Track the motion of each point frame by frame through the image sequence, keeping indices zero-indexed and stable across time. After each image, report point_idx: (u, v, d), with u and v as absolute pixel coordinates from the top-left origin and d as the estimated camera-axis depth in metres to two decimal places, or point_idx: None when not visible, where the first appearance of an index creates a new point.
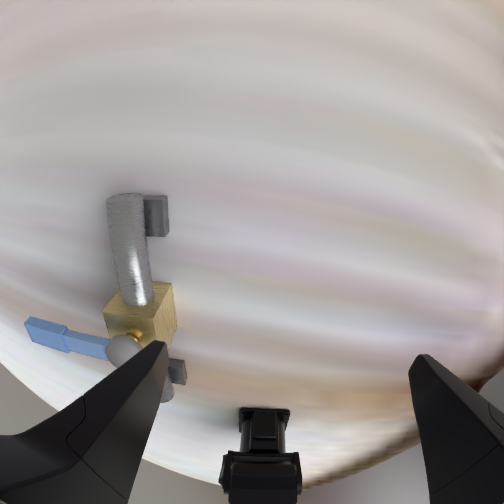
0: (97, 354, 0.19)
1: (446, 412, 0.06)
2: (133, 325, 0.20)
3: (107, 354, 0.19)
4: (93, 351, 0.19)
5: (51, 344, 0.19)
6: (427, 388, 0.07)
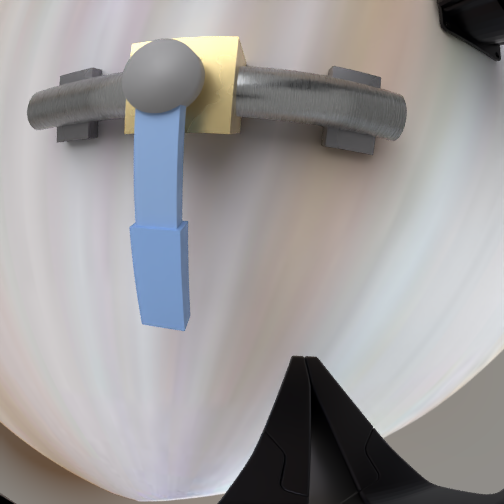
0: (164, 141, 0.09)
1: (317, 430, 0.06)
2: None
3: (151, 108, 0.09)
4: (160, 151, 0.10)
5: (169, 273, 0.11)
6: None
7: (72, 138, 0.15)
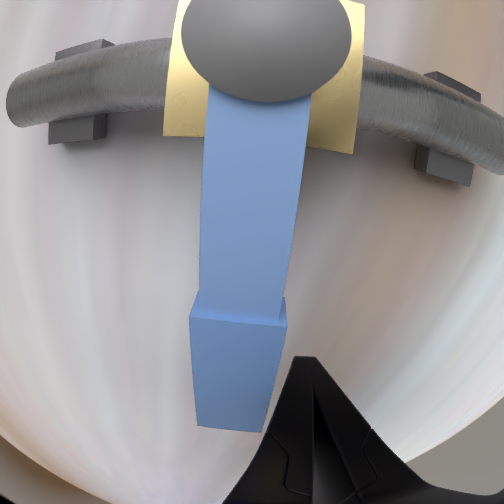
0: (273, 162, 0.05)
1: (315, 430, 0.06)
2: None
3: (251, 89, 0.04)
4: (263, 183, 0.05)
5: (255, 378, 0.07)
6: None
7: (70, 139, 0.10)
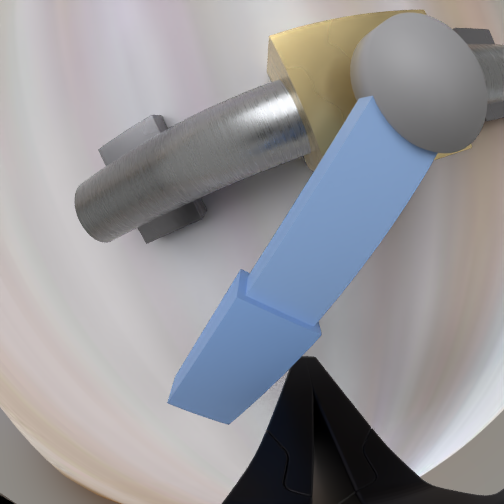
0: (387, 191, 0.05)
1: (315, 430, 0.06)
2: (333, 86, 0.06)
3: (405, 125, 0.04)
4: (372, 204, 0.05)
5: (261, 373, 0.07)
6: None
7: (172, 228, 0.12)
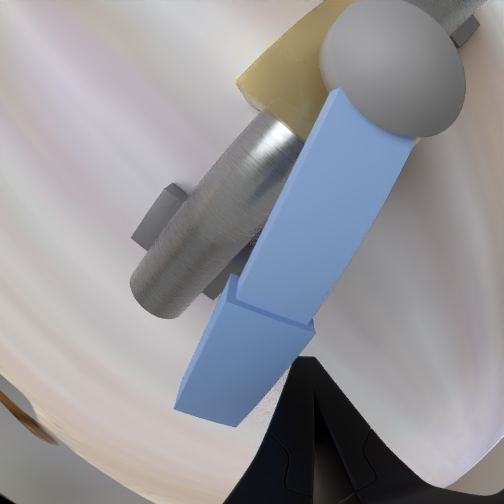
0: (366, 182, 0.05)
1: (315, 430, 0.06)
2: (316, 103, 0.06)
3: (377, 112, 0.04)
4: (351, 198, 0.05)
5: (260, 375, 0.07)
6: None
7: None
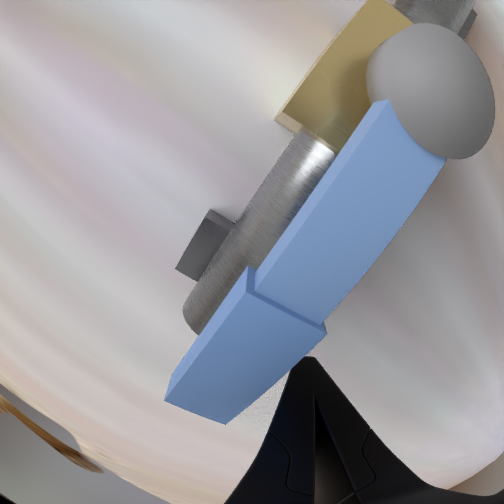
0: (398, 193, 0.05)
1: None
2: None
3: (418, 129, 0.04)
4: (383, 204, 0.05)
5: (263, 372, 0.07)
6: None
7: None
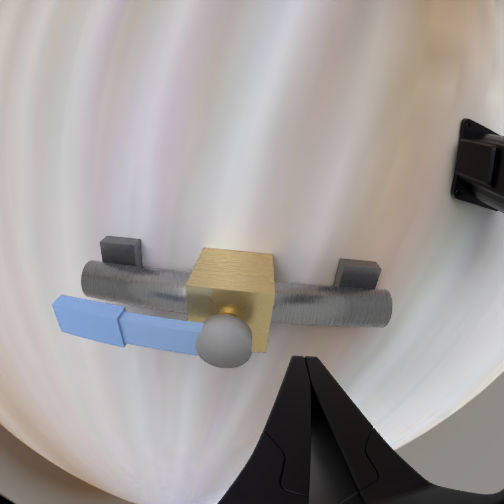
0: (177, 345, 0.15)
1: (317, 430, 0.06)
2: (202, 313, 0.16)
3: (198, 345, 0.14)
4: (170, 343, 0.15)
5: (96, 335, 0.15)
6: None
7: None
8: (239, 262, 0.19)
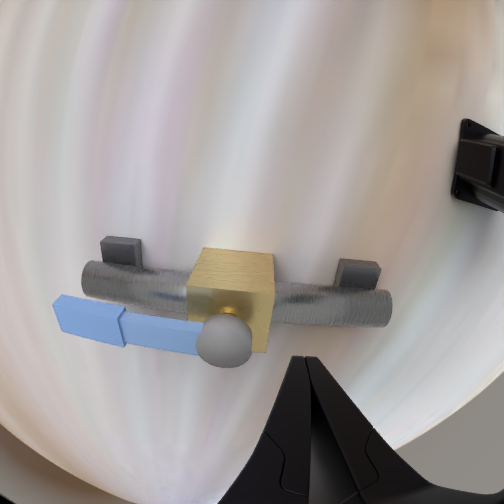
0: (177, 345, 0.15)
1: (317, 430, 0.06)
2: (202, 313, 0.16)
3: (198, 344, 0.14)
4: (170, 343, 0.15)
5: (96, 334, 0.15)
6: None
7: None
8: (239, 262, 0.19)
